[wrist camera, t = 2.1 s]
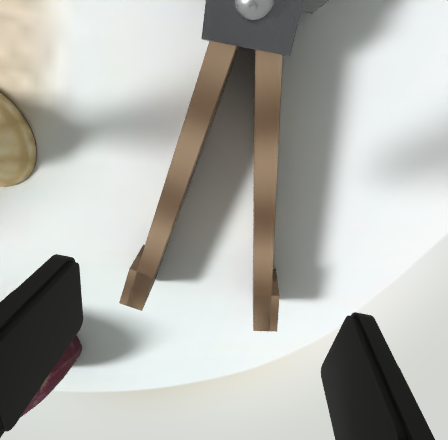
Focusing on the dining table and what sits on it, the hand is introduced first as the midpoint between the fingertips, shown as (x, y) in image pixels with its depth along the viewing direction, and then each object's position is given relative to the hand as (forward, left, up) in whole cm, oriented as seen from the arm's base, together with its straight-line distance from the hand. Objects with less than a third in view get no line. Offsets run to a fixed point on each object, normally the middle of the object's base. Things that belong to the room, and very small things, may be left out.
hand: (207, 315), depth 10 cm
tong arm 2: (+1, -4, -14) cm, 15 cm away
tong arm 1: (+1, +3, -14) cm, 14 cm away
